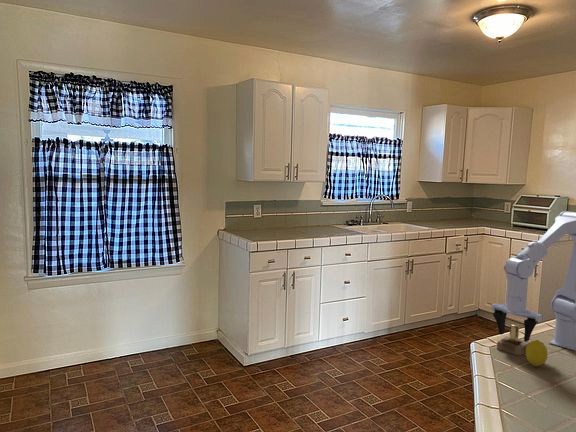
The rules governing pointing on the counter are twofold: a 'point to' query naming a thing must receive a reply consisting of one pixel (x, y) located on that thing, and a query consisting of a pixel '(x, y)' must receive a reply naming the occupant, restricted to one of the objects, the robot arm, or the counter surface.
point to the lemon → (536, 353)
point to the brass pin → (514, 334)
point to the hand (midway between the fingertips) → (513, 337)
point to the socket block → (512, 346)
